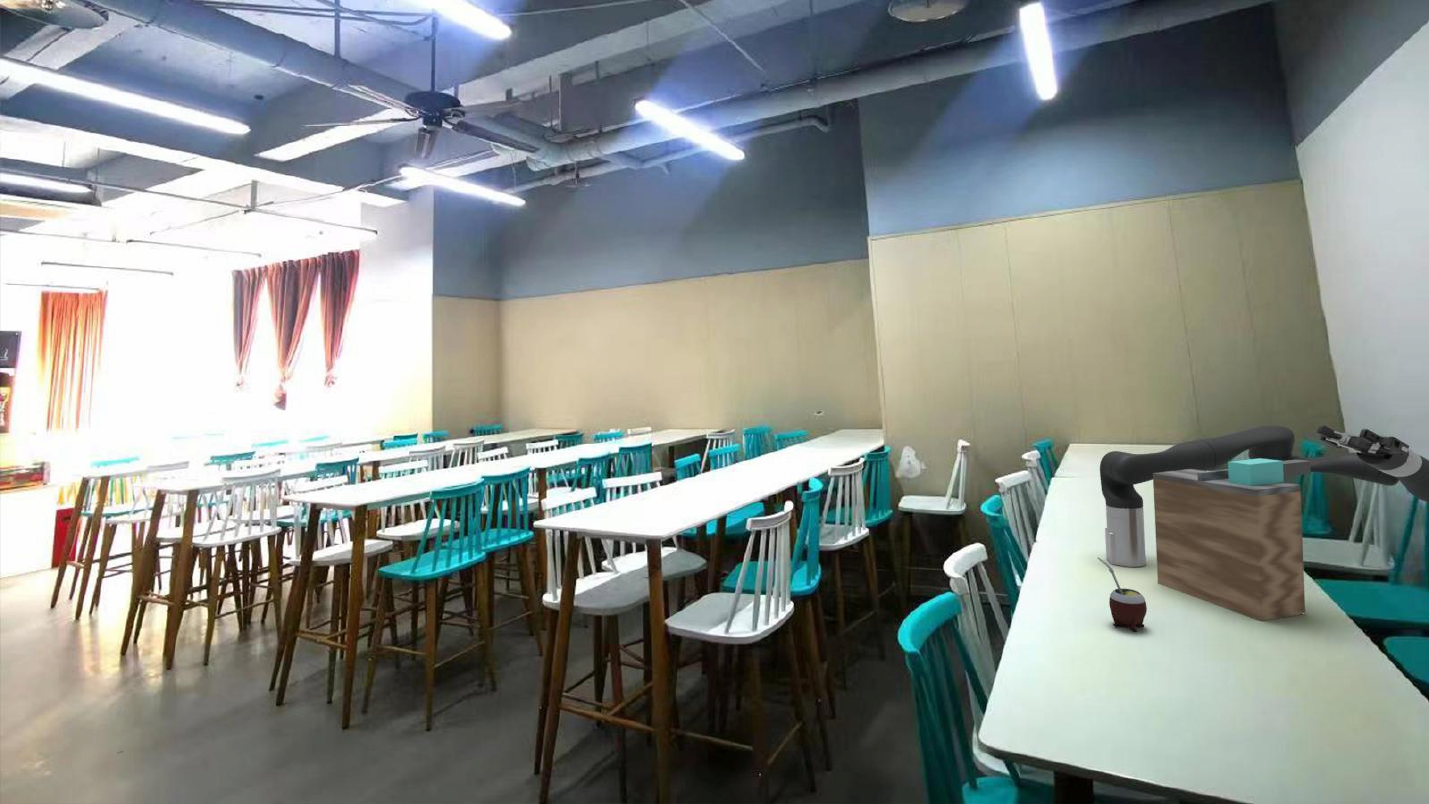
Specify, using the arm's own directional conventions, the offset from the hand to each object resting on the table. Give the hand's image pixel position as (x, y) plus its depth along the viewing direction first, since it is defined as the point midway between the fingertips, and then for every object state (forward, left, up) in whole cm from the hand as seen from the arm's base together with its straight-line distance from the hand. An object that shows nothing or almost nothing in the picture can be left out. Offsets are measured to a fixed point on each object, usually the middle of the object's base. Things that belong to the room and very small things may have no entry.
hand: (1340, 430), depth 141 cm
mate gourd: (-52, -29, -41) cm, 72 cm away
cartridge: (-17, -9, -10) cm, 22 cm away
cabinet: (-26, -6, -40) cm, 48 cm away
